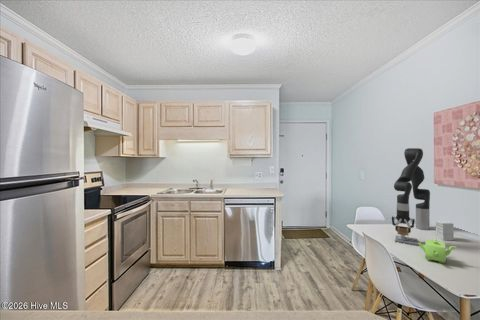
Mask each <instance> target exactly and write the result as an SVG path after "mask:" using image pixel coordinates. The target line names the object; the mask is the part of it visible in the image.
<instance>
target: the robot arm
mask: <svg viewBox="0 0 480 320" xmlns="http://www.w3.org/2000/svg"><path fill="white" fill-rule="evenodd" d="M403 155H404V158H405V159H404V160H405V161H406V164H407V165H406V166H405V167H404V168H403V169H402V171H401V173H400V176H399V177H398V179H397V180H396V181H395V182H394V185H393V188H394V190H395V191H397V192H403V193H402V194H397V196H396V216H393V215H392V216H391V221H392V225H393V226H394V227H395V231H396V233H398V226H399V224H404V225H407V226H406V227H408V234H410V233H411V230H412V229H414V228H416V229H419V230H425V231H429V230H430V223H431V222H430V212H431V211H430V199H431V191H430V189H425V188H419V187H420V185H421V184H422V183H423V182H424V180H425V172H424V170H423V169H422V168H421V167H420V166H419V164H420V162H422V159H423V156H424V151H423V149H422V148H419V147H415V148H413V147H412V148H410V147H409V148H405V150H404V153H403ZM411 191H412V193H413V197H414V200H415V199H416V200H419V201H423V202H418V203H416V204H415V218H410V195H411ZM395 220H397V222H395ZM409 222H411V225H410V223H409Z"/></svg>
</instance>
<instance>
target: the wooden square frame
mask: <svg viewBox="0 0 480 320" xmlns="http://www.w3.org/2000/svg"><path fill="white" fill-rule="evenodd" d="M397 235H399V236H401V235H405V236H406V237H409V233H408V226H404V225H403V226H402V225H398V232H397Z"/></svg>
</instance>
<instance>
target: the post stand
mask: <svg viewBox="0 0 480 320" xmlns="http://www.w3.org/2000/svg"><path fill="white" fill-rule="evenodd" d="M394 239H395V240H394V242H395V243H397V242H399V243H398V244H403V243H405V244H404V245H409V244H410V245H409V246H414V247H415V246H417V247H418V246H419V244H418V243H419V242H418V238H415V237H410V236H406V235H398V234H397V235H395V238H394Z"/></svg>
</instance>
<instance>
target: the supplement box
mask: <svg viewBox="0 0 480 320" xmlns="http://www.w3.org/2000/svg"><path fill="white" fill-rule="evenodd" d="M454 231H455V230H454V223H453V222H451V221H448V220H435V237H436V239H438V240H439V239H440V240H441V241H454V239H455V238H454Z"/></svg>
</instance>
